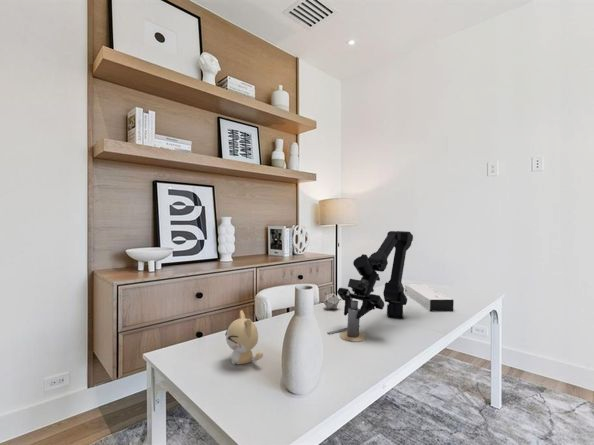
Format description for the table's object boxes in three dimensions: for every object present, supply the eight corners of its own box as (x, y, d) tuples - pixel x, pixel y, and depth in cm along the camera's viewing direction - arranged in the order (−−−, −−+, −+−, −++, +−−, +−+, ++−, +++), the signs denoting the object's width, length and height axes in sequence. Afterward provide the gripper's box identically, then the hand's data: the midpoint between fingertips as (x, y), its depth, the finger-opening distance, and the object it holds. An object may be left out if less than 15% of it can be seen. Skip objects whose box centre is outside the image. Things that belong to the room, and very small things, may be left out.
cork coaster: (367, 333, 124) (367, 332, 124) (365, 343, 114) (365, 342, 114) (341, 330, 127) (341, 329, 127) (337, 340, 117) (337, 338, 117)
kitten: (221, 354, 105) (221, 309, 105) (250, 349, 109) (250, 306, 109) (231, 375, 92) (230, 324, 91) (264, 368, 96) (264, 319, 95)
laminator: (453, 312, 151) (453, 299, 151) (427, 312, 151) (428, 299, 151) (423, 294, 185) (424, 283, 185) (402, 294, 185) (403, 283, 185)
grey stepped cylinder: (356, 333, 123) (358, 299, 123) (360, 337, 119) (362, 303, 118) (345, 333, 123) (347, 299, 122) (348, 337, 118) (350, 303, 118)
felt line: (357, 325, 132) (357, 324, 132) (359, 326, 131) (359, 325, 131) (327, 333, 124) (327, 332, 124) (329, 334, 122) (329, 333, 122)
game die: (334, 317, 154) (340, 304, 148) (318, 310, 155) (323, 297, 149) (338, 304, 161) (344, 291, 155) (323, 297, 162) (328, 284, 156)
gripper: (339, 267, 129) (322, 299, 122) (380, 274, 116) (363, 310, 109) (350, 283, 135) (334, 315, 128) (391, 291, 122) (375, 327, 114)
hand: (350, 316), depth 119 cm, fingers open, 5 cm apart
